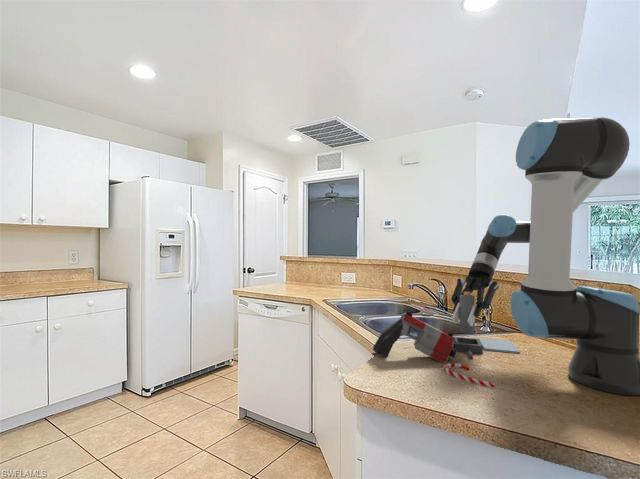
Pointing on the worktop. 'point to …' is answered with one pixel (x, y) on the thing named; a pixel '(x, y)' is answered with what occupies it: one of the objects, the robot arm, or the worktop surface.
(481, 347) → the grey recessed block
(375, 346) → the toy gun
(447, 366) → the candy cane
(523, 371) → the worktop surface
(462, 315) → the rod
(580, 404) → the worktop surface
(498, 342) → the slate mat
